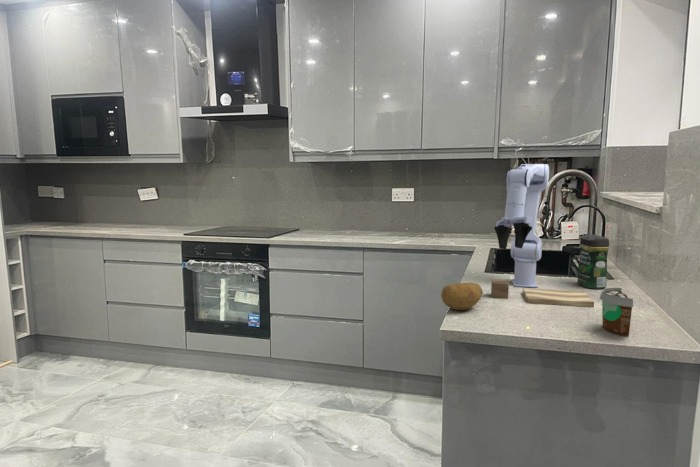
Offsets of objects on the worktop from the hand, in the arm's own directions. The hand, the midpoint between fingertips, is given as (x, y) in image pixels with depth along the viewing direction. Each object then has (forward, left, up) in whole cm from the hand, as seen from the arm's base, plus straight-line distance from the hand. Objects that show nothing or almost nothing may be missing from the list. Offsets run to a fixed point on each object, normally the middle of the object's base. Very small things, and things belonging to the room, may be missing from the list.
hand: (510, 248), depth 150 cm
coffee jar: (-27, +31, -17) cm, 45 cm away
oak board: (-6, +15, -17) cm, 24 cm away
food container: (+22, +24, -17) cm, 37 cm away
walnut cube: (-6, -2, -17) cm, 18 cm away
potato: (+12, -14, -17) cm, 25 cm away
